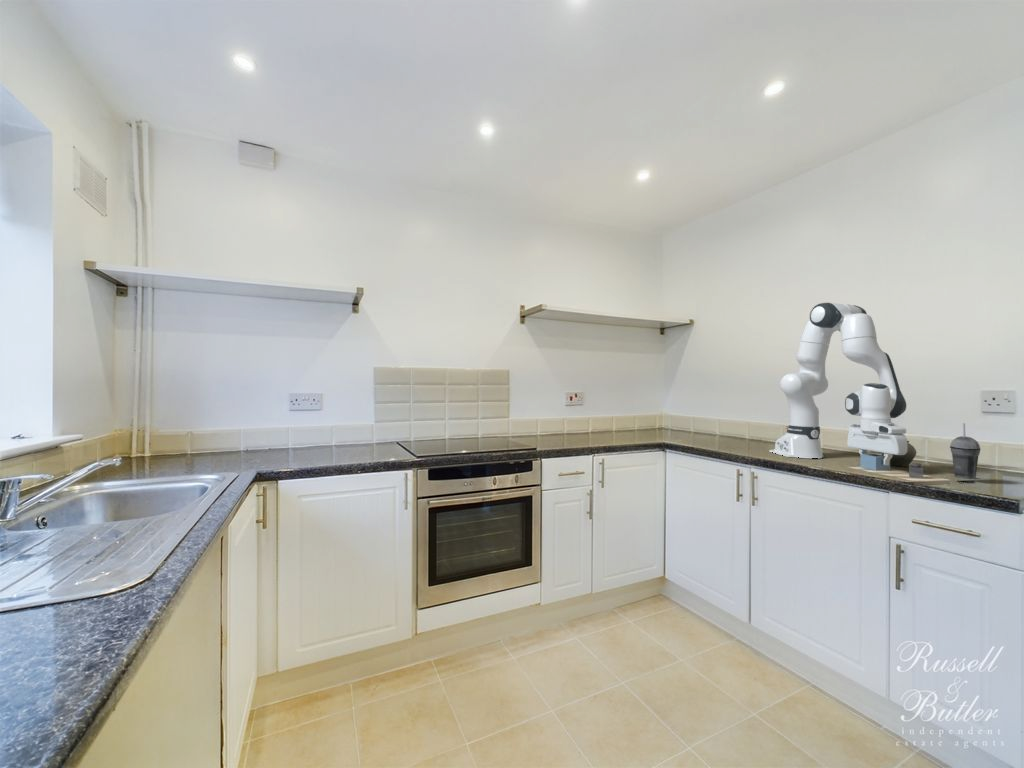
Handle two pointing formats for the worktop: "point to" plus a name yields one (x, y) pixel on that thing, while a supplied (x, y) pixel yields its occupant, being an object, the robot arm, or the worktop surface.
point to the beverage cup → (965, 457)
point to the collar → (873, 462)
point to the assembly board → (906, 476)
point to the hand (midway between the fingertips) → (875, 463)
